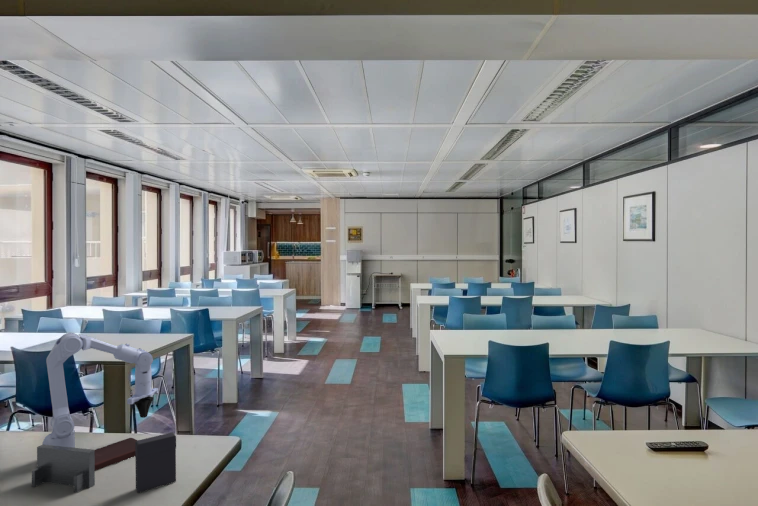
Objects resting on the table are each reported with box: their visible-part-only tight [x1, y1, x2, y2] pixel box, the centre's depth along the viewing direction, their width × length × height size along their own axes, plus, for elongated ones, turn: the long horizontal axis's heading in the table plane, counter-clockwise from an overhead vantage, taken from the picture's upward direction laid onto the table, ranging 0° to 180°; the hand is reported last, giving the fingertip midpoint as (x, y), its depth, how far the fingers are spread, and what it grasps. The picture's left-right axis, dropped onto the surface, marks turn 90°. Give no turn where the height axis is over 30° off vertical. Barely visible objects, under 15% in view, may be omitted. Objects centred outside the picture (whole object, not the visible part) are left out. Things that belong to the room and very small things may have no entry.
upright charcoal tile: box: [134, 432, 177, 494], centre depth 142 cm, size 11×4×15 cm, turn 128°
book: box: [94, 437, 139, 472], centre depth 162 cm, size 12×19×3 cm, turn 145°
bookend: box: [31, 444, 96, 493], centre depth 142 cm, size 20×5×11 cm, turn 77°
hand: (143, 416), depth 177 cm, fingers closed
